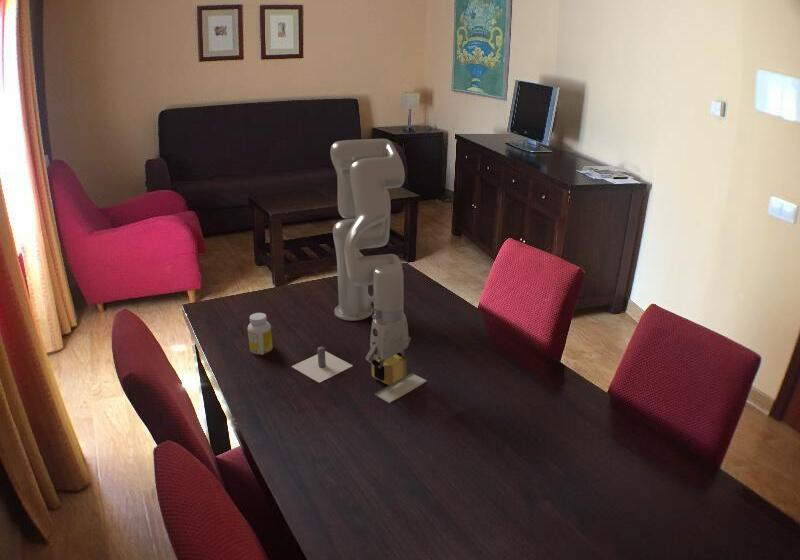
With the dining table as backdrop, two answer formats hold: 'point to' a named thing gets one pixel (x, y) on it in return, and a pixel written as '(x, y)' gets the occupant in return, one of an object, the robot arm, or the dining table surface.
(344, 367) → the stand
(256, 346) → the pill bottle
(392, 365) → the c link
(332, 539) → the dining table surface
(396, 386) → the mat
